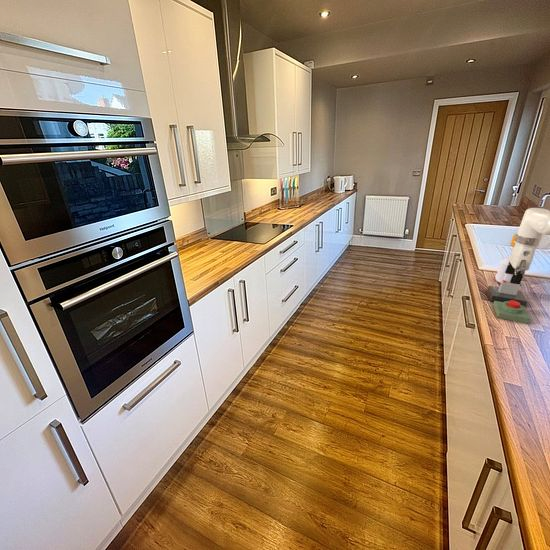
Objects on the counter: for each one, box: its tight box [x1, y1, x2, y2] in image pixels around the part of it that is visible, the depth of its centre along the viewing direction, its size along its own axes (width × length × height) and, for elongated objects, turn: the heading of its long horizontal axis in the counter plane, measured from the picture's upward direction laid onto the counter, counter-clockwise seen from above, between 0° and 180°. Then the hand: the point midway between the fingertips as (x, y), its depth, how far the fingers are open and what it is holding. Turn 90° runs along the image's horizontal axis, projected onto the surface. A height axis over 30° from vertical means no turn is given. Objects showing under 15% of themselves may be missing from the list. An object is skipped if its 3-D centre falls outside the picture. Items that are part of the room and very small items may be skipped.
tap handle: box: [498, 280, 521, 295], centre depth 123 cm, size 6×2×5 cm, turn 64°
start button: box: [508, 300, 520, 308], centre depth 114 cm, size 4×4×2 cm
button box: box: [492, 301, 532, 324], centre depth 115 cm, size 10×10×4 cm
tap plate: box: [486, 285, 528, 308], centre depth 125 cm, size 12×10×3 cm
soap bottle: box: [494, 233, 521, 284], centre depth 135 cm, size 9×9×25 cm
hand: (511, 278), depth 122 cm, fingers open, 9 cm apart
